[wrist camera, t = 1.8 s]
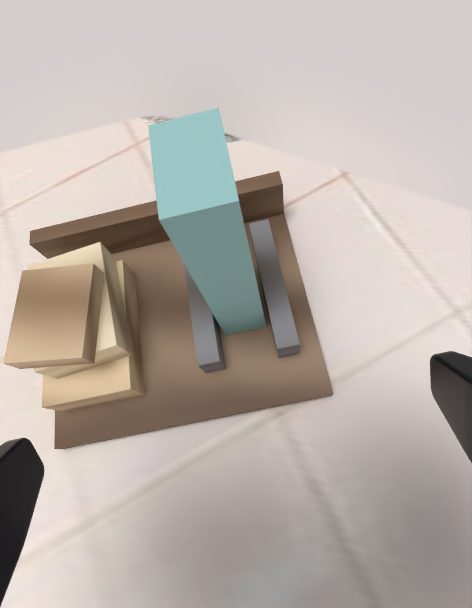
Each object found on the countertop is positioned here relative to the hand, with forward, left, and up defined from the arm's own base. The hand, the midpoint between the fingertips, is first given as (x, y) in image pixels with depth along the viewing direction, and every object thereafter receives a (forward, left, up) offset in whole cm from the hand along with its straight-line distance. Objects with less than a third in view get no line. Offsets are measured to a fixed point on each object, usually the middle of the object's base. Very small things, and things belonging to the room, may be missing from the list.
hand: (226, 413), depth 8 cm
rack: (+9, 0, -14) cm, 16 cm away
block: (+7, -4, -13) cm, 15 cm away
